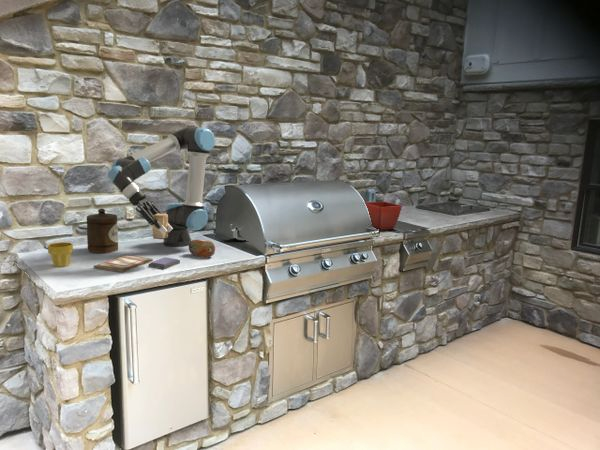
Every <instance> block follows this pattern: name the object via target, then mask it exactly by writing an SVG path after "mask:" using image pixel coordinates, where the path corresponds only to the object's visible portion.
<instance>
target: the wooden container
mask: <svg viewBox="0 0 600 450" xmlns="http://www.w3.org/2000/svg"><path fill="white" fill-rule="evenodd" d="M97 212H98V213H94V214H89V215H87V216H86V235H87V236H86V237H87V241H86V242H87V251H88V252H89V253H90V254H91V253H92V254H98V255H99V254H100V255H101V254H102V255H103V254H110V253H114V252H117V251H118V250H119V233H118V232H119V231H118V215H117V214H114V213H106V210H105V208H99V209H97Z"/></svg>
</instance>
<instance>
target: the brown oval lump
mask: <svg viewBox="0 0 600 450" xmlns="http://www.w3.org/2000/svg"><path fill="white" fill-rule="evenodd" d="M188 251H189V253H190V254H191V255H192V256H194V257H200V258H205V259H207V258H211V257H213V256H214V255H215V252H216V246H215V244H214V243H213V242H212V241H211V240H204V239H191V242H190V243H189V245H188Z"/></svg>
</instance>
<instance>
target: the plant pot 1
mask: <svg viewBox="0 0 600 450" xmlns="http://www.w3.org/2000/svg"><path fill="white" fill-rule="evenodd" d="M73 251H74V245H73V243H72V242H66V241H63V242H61V241H60V242H54V243H50V244H48V245H47V252H48V254H49V255H50V258H51V262H52V264H53V267H57V268H62V267H68V266H70V264H71V257H72V253H73Z"/></svg>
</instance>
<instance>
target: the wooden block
mask: <svg viewBox="0 0 600 450" xmlns="http://www.w3.org/2000/svg"><path fill="white" fill-rule="evenodd" d="M153 216H154V217H155V219H156V220H157V221H159V222H160V223H161V224H162V225H163V226H164V227H165V229H166V230H167V232H166V233H165V234H164V235H163V234H162V233H161V232H160V231H159V230H158V229H157V228H156V227H155V225H154V224H153V225H152V229H153V230H152V238H153V239H155V240H156V239H157V240H164V239H165V238H167V237H168V214H166V213H163V214H155V215H153Z"/></svg>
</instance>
